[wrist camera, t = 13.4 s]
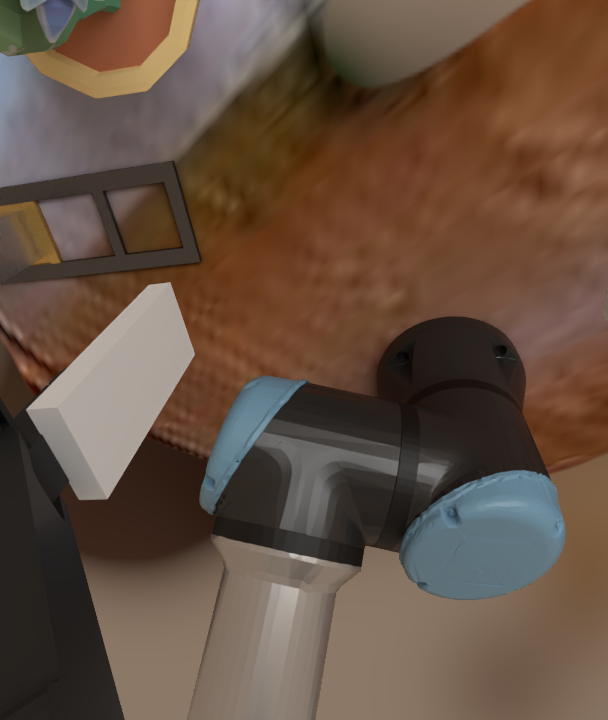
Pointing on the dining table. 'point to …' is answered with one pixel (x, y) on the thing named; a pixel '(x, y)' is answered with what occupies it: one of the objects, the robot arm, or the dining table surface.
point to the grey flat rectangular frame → (97, 185)
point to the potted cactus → (99, 40)
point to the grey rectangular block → (16, 244)
